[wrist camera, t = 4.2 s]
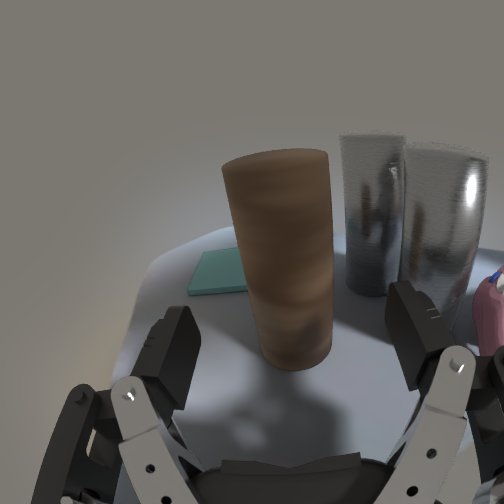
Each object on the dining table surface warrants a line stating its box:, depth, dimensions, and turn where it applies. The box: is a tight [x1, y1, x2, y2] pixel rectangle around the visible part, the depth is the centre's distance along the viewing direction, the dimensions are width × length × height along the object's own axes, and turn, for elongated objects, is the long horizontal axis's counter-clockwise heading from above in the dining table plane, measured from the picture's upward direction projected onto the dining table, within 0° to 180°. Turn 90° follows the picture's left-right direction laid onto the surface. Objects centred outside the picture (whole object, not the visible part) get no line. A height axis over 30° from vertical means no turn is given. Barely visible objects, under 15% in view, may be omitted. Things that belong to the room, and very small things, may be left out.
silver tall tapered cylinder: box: [339, 131, 406, 297], centre depth 19 cm, size 5×5×12 cm
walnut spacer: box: [222, 148, 334, 371], centre depth 15 cm, size 5×5×12 cm
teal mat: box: [187, 248, 248, 295], centre depth 27 cm, size 7×7×1 cm
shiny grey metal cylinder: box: [397, 142, 489, 333], centre depth 13 cm, size 5×5×12 cm
